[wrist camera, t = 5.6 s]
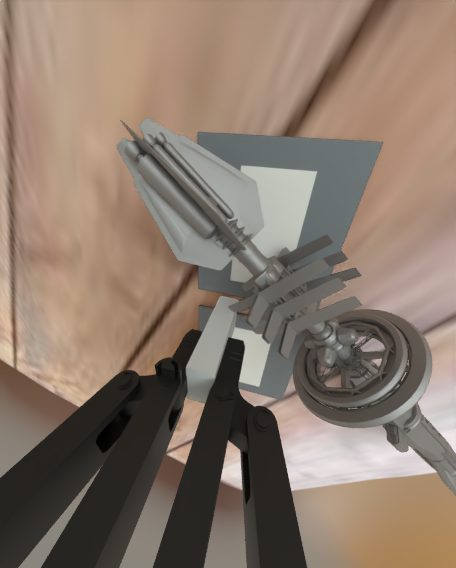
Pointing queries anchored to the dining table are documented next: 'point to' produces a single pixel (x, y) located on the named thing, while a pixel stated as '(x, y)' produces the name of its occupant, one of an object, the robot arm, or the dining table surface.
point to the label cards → (287, 225)
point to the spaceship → (290, 295)
